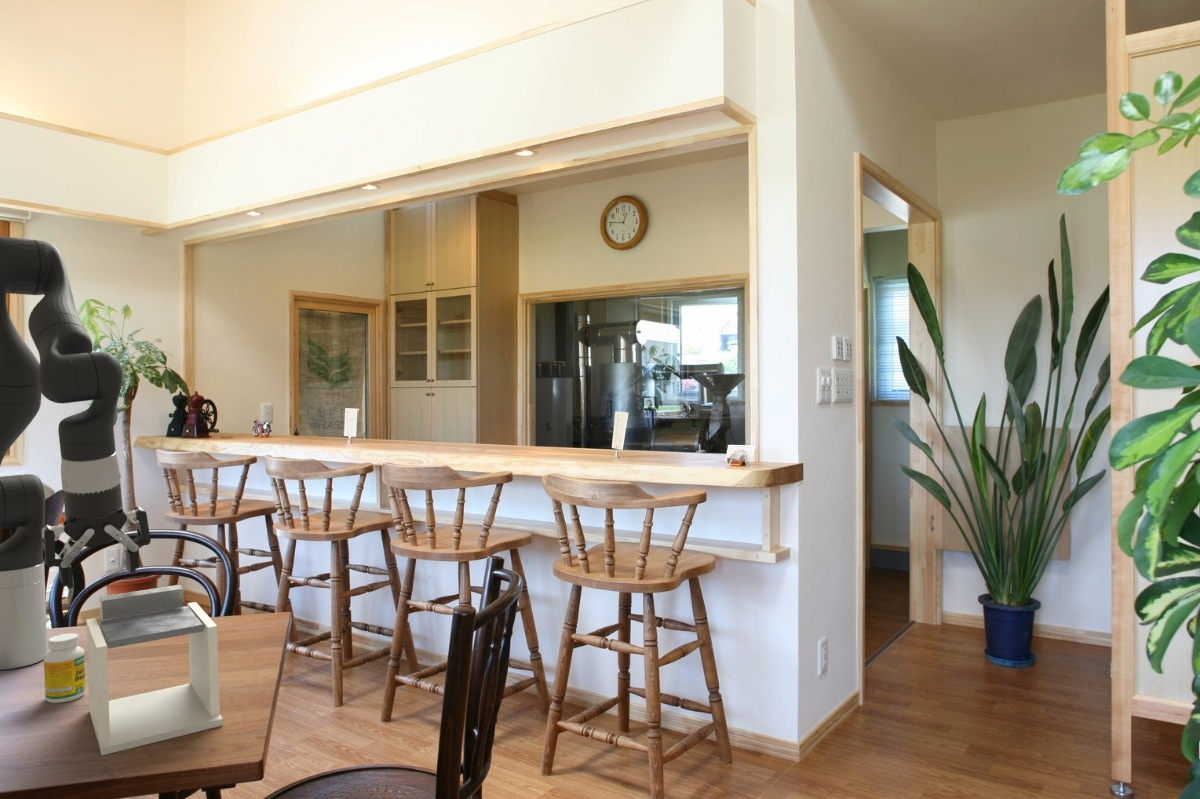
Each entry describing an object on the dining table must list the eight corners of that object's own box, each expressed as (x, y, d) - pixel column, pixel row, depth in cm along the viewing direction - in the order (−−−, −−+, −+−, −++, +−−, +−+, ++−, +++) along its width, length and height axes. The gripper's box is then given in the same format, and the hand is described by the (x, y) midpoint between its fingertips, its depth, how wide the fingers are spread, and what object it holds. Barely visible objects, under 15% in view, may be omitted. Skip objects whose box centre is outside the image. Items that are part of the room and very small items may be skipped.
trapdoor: (97, 622, 125) (96, 597, 125) (183, 608, 132) (182, 584, 132) (108, 649, 112) (107, 621, 112) (203, 632, 119) (202, 605, 119)
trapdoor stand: (89, 711, 123) (86, 619, 123) (198, 687, 132) (195, 601, 132) (101, 755, 109) (98, 651, 108) (222, 725, 117) (220, 629, 117)
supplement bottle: (50, 693, 130) (48, 634, 130) (89, 688, 132) (87, 630, 132) (40, 706, 125) (38, 644, 125) (81, 700, 127) (79, 640, 127)
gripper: (136, 466, 132) (143, 558, 136) (30, 484, 122) (42, 582, 126) (150, 480, 126) (158, 575, 130) (41, 499, 117) (53, 602, 121)
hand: (101, 579), depth 128 cm, fingers open, 8 cm apart
